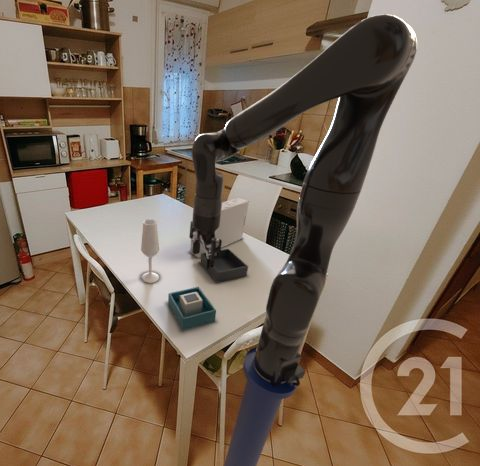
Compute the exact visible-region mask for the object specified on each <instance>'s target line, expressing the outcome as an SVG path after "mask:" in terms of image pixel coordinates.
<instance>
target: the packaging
mask: <svg viewBox="0 0 480 466" xmlns="http://www.w3.org/2000/svg"><path fill="white" fill-rule="evenodd" d="M249 202H250V201H249V200H246V199H243V198H241V197H236V198H232V199H229V200H226V201H222V208H221V217H220V225H219V228H218V229H217V230H216V231H215V238H216V239H221V240H222V243H221V249H222V248H224V247H226V246H229V245H231V244H232V243H235V242H237V241H239V240H242V239H243V235H244V230H245V225H246V219H247V213H248V208H249ZM193 234H195V232H193ZM207 247H211V245H207ZM192 250H193V243H192V238H191V239H190V249H189V253H190V254H191V255H193V256H195V257H197V258H198V259H201V254H202V253H206V251H204V250H203V245H202V244H201V243H200V252H199V253H198V254H193V253H192ZM209 252H211V250H209Z"/></svg>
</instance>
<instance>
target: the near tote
mask: <svg viewBox="0 0 480 466" xmlns="http://www.w3.org/2000/svg"><path fill="white" fill-rule="evenodd" d="M193 292H197V293H198V294H199V296H200V297H201V299H202V300H203V303H202V312H201V313H200V314H196V315H192V316H188V317H184V316H183V314H182V312H181V310H180V309H179V303H180V295H184V294H188V293H193ZM167 304H168V305H169V308H170V310H171V312H172V313H173V315H174V318H175V320H176V321H177V323H178V325H179V327H180V329H181V331H184V330H188V329H192V328H196V327H200V326H203V325H207V324H210V323H215V322H216V315H217V310H216V308H215V307H214V305H213V304H212V303H211V301H210V300H209V298H207V296H206V295H205V293H204V292H203V291H202V289H201V288H200V286H195V287H191V288H185V289H181V290H176V291H173V292H169V293H168V299H167Z"/></svg>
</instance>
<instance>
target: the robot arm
mask: <svg viewBox="0 0 480 466" xmlns="http://www.w3.org/2000/svg"><path fill="white" fill-rule="evenodd" d="M417 51H418V40H417V35H416V33H415V31H414V29H413V28H412V27H411V26H410V25H409V24H408V23H406V22H405V21H404V20H403V18H400V17H398V16H396V15H392V14H376V15H371V16H369V17H366V18H364V19H362V20H360V21H358V22H356V23H355V24H354V25H352V26H351V27H350V28H349V29H347V30H346V31H345V32H344V33H343V34H341V35H340V36H339V37H338V38H337V39H335V40H334V41H333V42H332V43H330V45H329V46H327V47H326V48H325V49H324V50H323V51H322V52H320V54H318V55H317V56H316V57H315V58H314V59H313V60H312V61H310V62H309V63H308V64H307V65H305V66H304V67H303V68H302V69H301V70H300V71H298V72H297V73H295V74H294V75H292V77H291V78H289V79H288V80H287V81H285V82H283V84H281V85H280V86H279V87H277V88H276V89H274V90H273V91H272V92H270V93H268V94H267V95H266V96H264V97H263V98H261V99H259V100H258V101H256V102H255V103H253V104H252V105H250V106H248V107H247V108H245V109H243V110H242V111H240V112H239V113H238V114H235V116H233V117H232V118H231V119H229V120H228V121H227V122H226V124H225V127H224V128H223V129H221V130H219V131H214V132H213V131H212V132H205V133H201V134H199V135H198V136H197V137H196V138H195V139H194V142H193V143H192V147H191V159H192V164H193V171H194V175H195V189H194V190H195V191H194V198H193V204H192V205H193V208H192V220H191V221H190V226H189V239H190V240H191V238H192V243H193V250H192V253H193V254H198V253H199V252H200V243H201V244H202V245H203V250H204V251H206V255H207V257H206V269H212V268H213V267H214V260H216V259H220V255H221V250H222V248H221V243H222V240H221V239H216V238H215V231H216V230H217V229H218V228H219V225H220V217H221V208H222V203H223V190H224V183H225V182H224V181H225V179H224V178H225V177H224V175H223V173H221V172H219V171H217V170H216V163H219V162H223V161H225V160H227V159H230V158H232V157H233V156H235V155H236V154H238V153H239V152H241V151H242V150H243V149H245V148H247V147H249V146H251V145H254V144H255V143H258V142H260V141H262V140H264V139H266V138H267V137H269V136H271V135H273V134H274V133H276V132H277V131H279V130H281V129H282V128H283V127H284V126H286V125H287V124H289V123H290V122H291V121H293V120H294V119H296V118H297V117H299V116H300V115H302V114H304V113H306V112H307V111H309V110H312V109H314V108H315V107H317V106H320V105H322V104H325V103H327V102H330V101H332V100H335V99H338V100H337V103H336V108H335V112H334V115H333V119H332V122H331V125H330V126H329V129H328V131H327V132H326V135H325V137H324V139H323V140H322V142H321V144H320V146H319V147H318V149H317V151H316V152H315V154H314V155H313V158H312V160H311V162H310V164H309V166H308V168H307V171H306V173H305V176H304V179H303V182H302V185H301V190H300V193H299V197H298V202H297V206H296V233H295V239H294V242H293V245H292V248H291V250H290V253H289V255H288V257H287V260H286V261H285V263H284V265H283V266H282V267H281V269H280V270H279V272H278V273H277V274H276V275H275V277H274V279H273V281H272V283H271V286H270V289H269V293H268V297H267V302H266V306H265V312H266V314H265V317H264V322H263V323H262V328H261V332H260V334H259V335H260V336H259V339H258V342H257V345H256V347H257V350H256V354H255V357H254V360H253V367H254V369H255V371H256V373H257V374H258V375H259V376H260V377H261V378H262V379H263V380H265V381H266V382H268V383H270V384H271V385H272V386H273V387H276V386H278V385H281V384H284V383H286V382H287V383H290V382H293V381H295V380H296V382H297V383H296V382H293V383H292V384H293V385H294V386H297V387H299V386H300V385H301V382H300V379H303V378H304V375H305V373H306V370H304V368H303V367H302V366H301V365H299V363H300V361H301V359H302V355H301V354H300V353H299V352H300V350H301V347H302V344H303V342H304V339H305V337H306V335H307V332H308V329H309V327H310V323H311V321H312V318H313V316H314V313H315V311H316V308H317V306H318V303H319V300H320V298H321V295H322V294H323V291H324V289H325V285H326V280H327V275H328V269H329V265H330V262H331V257H332V254H333V250H334V248H335V245H336V243H337V241H338V240H339V238H340V237H341V236H342V234H343V231H344V230H345V228H346V226H347V225H348V223H349V221H350V219H351V218H352V217H351V216H352V215H353V212H354V210H355V208H356V205H357V202H358V200H359V198H360V195H361V192H362V188H363V187H364V184H365V180H366V177H367V175H368V172H369V168H370V165H371V162H372V159H373V156H374V152H375V149H376V145H377V142H378V139H379V134H380V132H381V129H382V126H383V124H384V121H385V119H386V117H387V114H388V112H389V110H390V109H391V106H392V104H393V102H394V100H395V99H396V96H397V94H398V92H399V90H400V88H401V86H402V84H403V82H404V80H405V79H406V77H407V74H408V72H409V70H410V69H411V67H412V65H413V62H414V61H415V57H416V54H417ZM193 232H195V234H193ZM207 245H211V247H207ZM209 250H211V253H209ZM216 252H217V255H216ZM192 253H191V254H192ZM193 254H192V255H193ZM206 269H205V270H206Z"/></svg>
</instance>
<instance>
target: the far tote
mask: <svg viewBox="0 0 480 466" xmlns="http://www.w3.org/2000/svg"><path fill="white" fill-rule="evenodd" d="M209 253H211V252H209ZM216 255H217V252H216ZM206 257H207V255H206V253H202V254H201V257H200V264H201V265H202V266H203V268H204V269H205V270H206V271H207V272H208V273H209V275H210V276H211V277H212V278H213V279H214V280H215V282H216V283H220V282H227V281H230V280H235V279H239V278H243V277H247V274H248V270H249V266H248V264H247V263H245V262H244V261H243V260H242V259H241V258H240V257H239V256H237V254H235V253H234V252H233V251H232V250H231V249H230V248H224V249H221V255H220V259H216V260H214V267H213V268H212V269H206Z"/></svg>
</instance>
